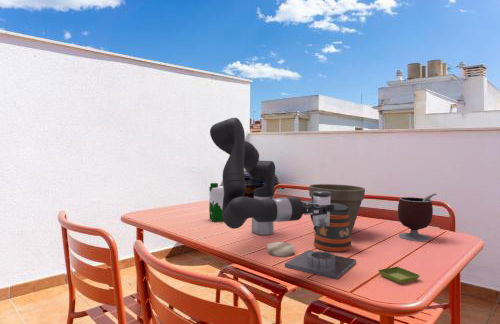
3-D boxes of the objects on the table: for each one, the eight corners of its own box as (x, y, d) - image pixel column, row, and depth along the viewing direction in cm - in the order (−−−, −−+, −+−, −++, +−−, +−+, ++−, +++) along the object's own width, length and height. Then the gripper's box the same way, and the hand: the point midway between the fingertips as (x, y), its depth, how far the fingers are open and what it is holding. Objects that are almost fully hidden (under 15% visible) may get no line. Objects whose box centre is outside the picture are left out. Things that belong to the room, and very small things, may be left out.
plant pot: (362, 228, 169) (363, 184, 168) (365, 242, 145) (366, 190, 144) (311, 225, 176) (311, 182, 175) (305, 237, 152) (306, 188, 151)
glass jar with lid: (309, 224, 115) (310, 192, 115) (316, 222, 120) (317, 190, 120) (325, 227, 112) (326, 193, 112) (332, 224, 117) (333, 191, 116)
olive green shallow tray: (397, 272, 111) (397, 266, 111) (420, 282, 104) (421, 275, 104) (377, 276, 108) (377, 270, 108) (400, 286, 100) (400, 279, 100)
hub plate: (284, 266, 115) (284, 257, 114) (308, 253, 129) (308, 244, 129) (337, 279, 104) (337, 268, 104) (356, 262, 119) (356, 253, 119)
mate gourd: (402, 241, 147) (403, 194, 146) (393, 233, 161) (394, 190, 160) (441, 242, 145) (442, 195, 144) (428, 234, 159) (430, 191, 158)
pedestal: (262, 253, 129) (262, 246, 129) (275, 246, 137) (275, 240, 137) (285, 258, 123) (285, 251, 123) (298, 251, 132) (298, 244, 131)
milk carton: (207, 219, 188) (207, 182, 187) (223, 218, 191) (223, 182, 190) (212, 222, 180) (212, 184, 179) (228, 221, 183) (228, 183, 182)
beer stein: (297, 244, 141) (298, 195, 140) (318, 237, 152) (319, 192, 151) (338, 255, 128) (339, 201, 127) (358, 247, 138) (359, 197, 137)
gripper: (297, 201, 103) (342, 198, 110) (273, 194, 116) (315, 192, 123) (296, 225, 103) (341, 221, 111) (273, 216, 116) (315, 213, 124)
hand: (327, 206), depth 117 cm, fingers closed on glass jar with lid, 5 cm apart
